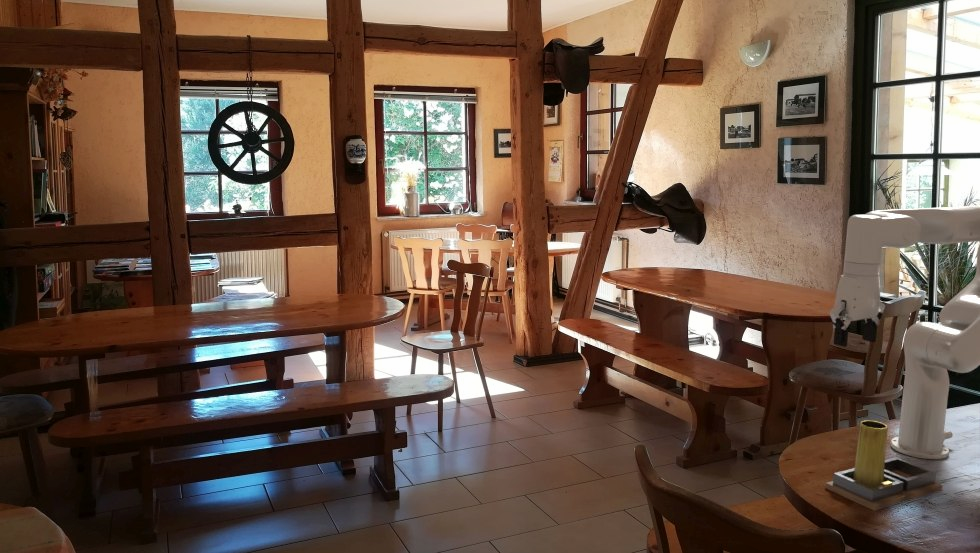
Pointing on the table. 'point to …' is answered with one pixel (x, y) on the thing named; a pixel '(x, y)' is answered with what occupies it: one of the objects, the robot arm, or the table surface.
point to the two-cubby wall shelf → (887, 480)
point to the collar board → (890, 500)
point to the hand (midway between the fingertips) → (854, 343)
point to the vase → (871, 453)
